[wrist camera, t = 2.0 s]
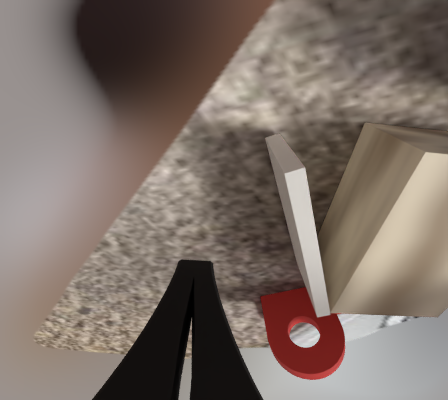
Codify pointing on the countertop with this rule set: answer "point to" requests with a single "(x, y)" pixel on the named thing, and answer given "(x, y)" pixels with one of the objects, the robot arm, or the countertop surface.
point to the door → (299, 219)
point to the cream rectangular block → (389, 225)
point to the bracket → (291, 353)
